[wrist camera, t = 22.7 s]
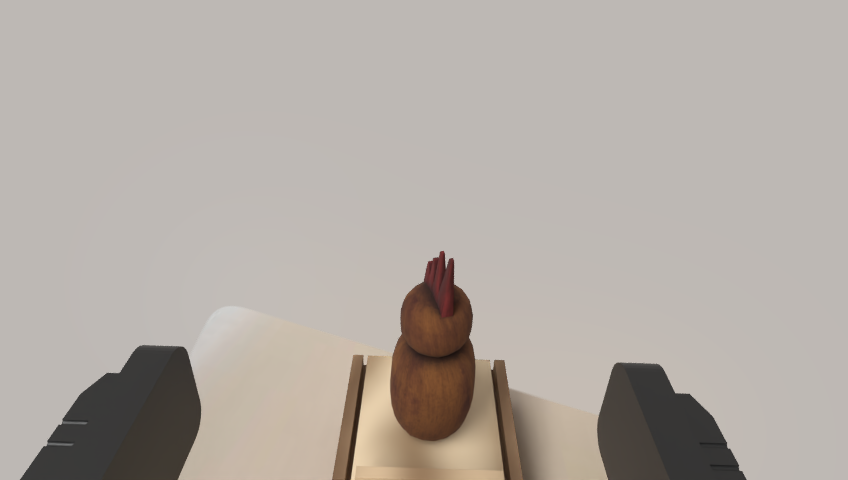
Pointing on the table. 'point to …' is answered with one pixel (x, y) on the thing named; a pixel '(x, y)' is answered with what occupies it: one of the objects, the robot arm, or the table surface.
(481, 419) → the lid
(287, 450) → the table surface
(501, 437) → the light wooden box
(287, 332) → the table surface
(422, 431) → the wooden figurine
